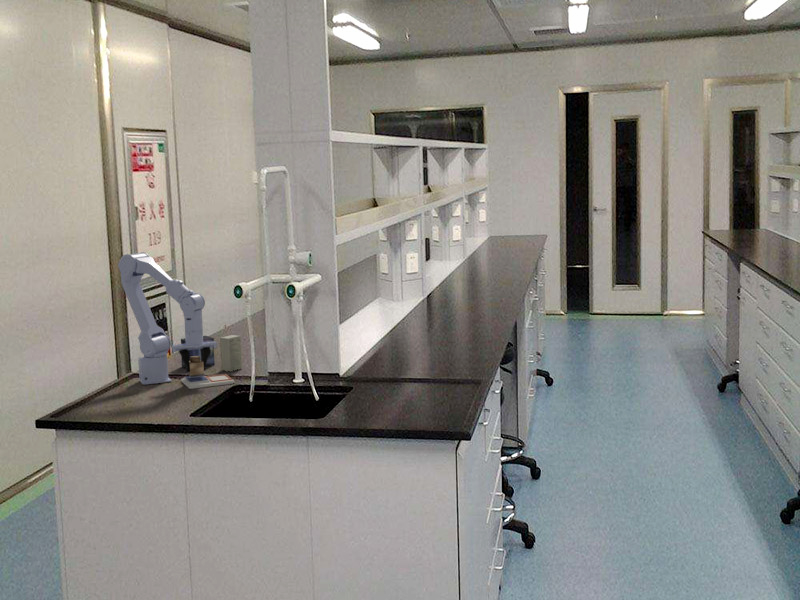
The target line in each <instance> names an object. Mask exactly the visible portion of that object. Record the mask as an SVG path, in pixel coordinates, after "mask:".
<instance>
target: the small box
mask: <svg viewBox="0 0 800 600" xmlns="http://www.w3.org/2000/svg"><path fill="white" fill-rule="evenodd" d="M212 341H214V337H212V336H208V335H203V342H212ZM184 343H186V341H185V338H180V344H184ZM210 349H211V352H210V354H209V356H208V359H207V362H206V367H211V365H212V366H215V348H210ZM188 353H190V354H189V361H190V357H191V356H200V360H201V352H200V349H195V350H188ZM180 356H181V355H180ZM181 367H183V368H184V369H186V366H185V363H184V361H183V358H182V356H181Z"/></svg>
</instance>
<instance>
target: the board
mask: <svg viewBox="0 0 800 600" xmlns="http://www.w3.org/2000/svg"><path fill="white" fill-rule="evenodd" d="M181 383H183V385H185V386H186V387H187V388H188V389H189V390H191V389H193V390H194V389H199V388H200V389H201V388H209V387H215V386H217V387H218V386H225V385H232V384H233V383H234V384H235V383H236V382H235V380H234V379H233V378H232V377H231V376H229V375H228V374H227V373H221V374H213V375H212V374H211V375H204V376H197V377H190V376H189V375H188V376H185V377H183V378H181Z"/></svg>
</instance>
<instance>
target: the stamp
mask: <svg viewBox="0 0 800 600" xmlns="http://www.w3.org/2000/svg"><path fill="white" fill-rule="evenodd" d="M189 365H190V372H187V375H188V377H189V376H190V377H197V376H205V371H204V364H203V361H201V360H200V356H191V357H190V361H189Z"/></svg>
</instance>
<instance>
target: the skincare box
mask: <svg viewBox="0 0 800 600" xmlns="http://www.w3.org/2000/svg"><path fill="white" fill-rule="evenodd" d="M219 343H220V345H219V346H220V359H221V361H220V362H221V364H220V366H221V371H223V370H225V371H224V372H228V371H230V372H234V371H237V369H238V370H241V369H243V362H242V361H243V360H242V340H241V335H235V334H231V335H230V334H229V335H225V336H221V337H219ZM233 370H234V371H233Z"/></svg>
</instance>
